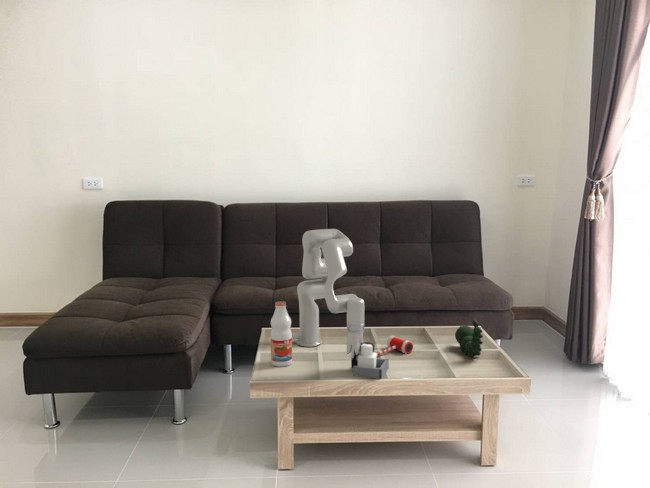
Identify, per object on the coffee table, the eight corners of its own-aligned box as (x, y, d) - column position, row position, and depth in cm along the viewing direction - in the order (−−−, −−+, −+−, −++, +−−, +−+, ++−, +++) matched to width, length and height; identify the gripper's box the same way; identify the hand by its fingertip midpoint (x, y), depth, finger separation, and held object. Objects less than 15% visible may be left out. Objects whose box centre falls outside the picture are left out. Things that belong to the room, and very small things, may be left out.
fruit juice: (286, 358, 268) (285, 299, 264) (295, 364, 260) (295, 303, 256) (267, 362, 263) (266, 301, 259) (276, 368, 255) (275, 306, 251)
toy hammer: (378, 363, 262) (378, 349, 261) (360, 356, 271) (360, 343, 270) (413, 353, 276) (413, 339, 275) (396, 347, 285) (396, 334, 284)
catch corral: (353, 375, 246) (353, 366, 246) (361, 365, 259) (361, 356, 258) (381, 378, 243) (381, 369, 242) (388, 367, 255) (388, 359, 255)
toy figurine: (486, 363, 265) (468, 341, 289) (489, 323, 261) (471, 305, 285) (466, 364, 264) (450, 342, 289) (468, 324, 260) (452, 305, 284)
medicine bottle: (360, 366, 257) (360, 340, 255) (376, 368, 255) (377, 341, 253) (357, 372, 250) (357, 345, 248) (373, 374, 248) (374, 346, 246)
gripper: (351, 321, 258) (351, 361, 261) (342, 331, 244) (342, 373, 247) (368, 323, 256) (368, 363, 259) (359, 332, 242) (359, 375, 245)
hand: (355, 367), depth 253 cm, fingers closed
